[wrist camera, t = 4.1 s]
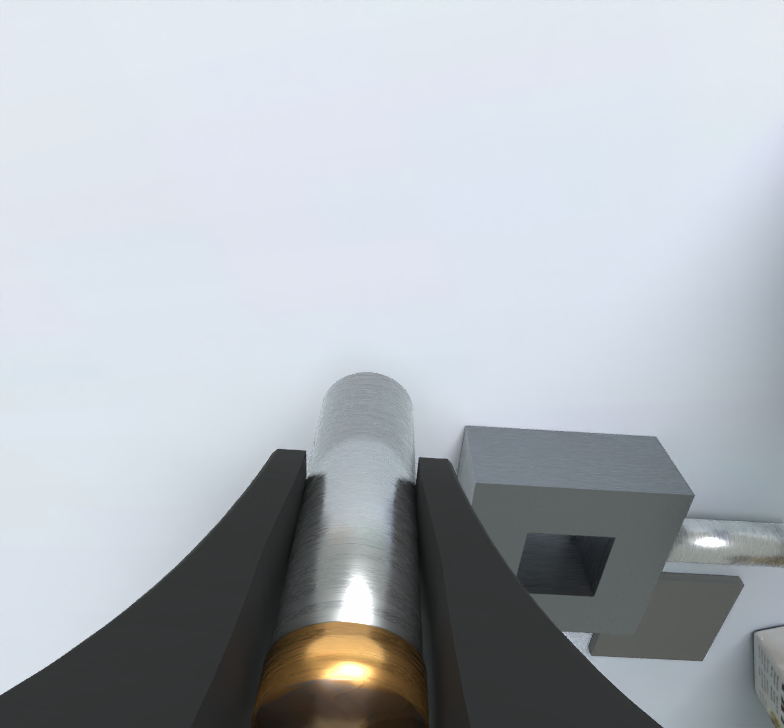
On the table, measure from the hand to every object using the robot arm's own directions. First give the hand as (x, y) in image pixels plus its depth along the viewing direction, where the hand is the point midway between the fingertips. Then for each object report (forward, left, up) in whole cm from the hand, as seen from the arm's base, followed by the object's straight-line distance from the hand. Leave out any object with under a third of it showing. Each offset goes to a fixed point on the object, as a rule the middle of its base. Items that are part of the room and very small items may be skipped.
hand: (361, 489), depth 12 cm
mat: (+16, +15, -10) cm, 24 cm away
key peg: (0, 0, -3) cm, 3 cm away
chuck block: (+9, +11, -10) cm, 18 cm away
